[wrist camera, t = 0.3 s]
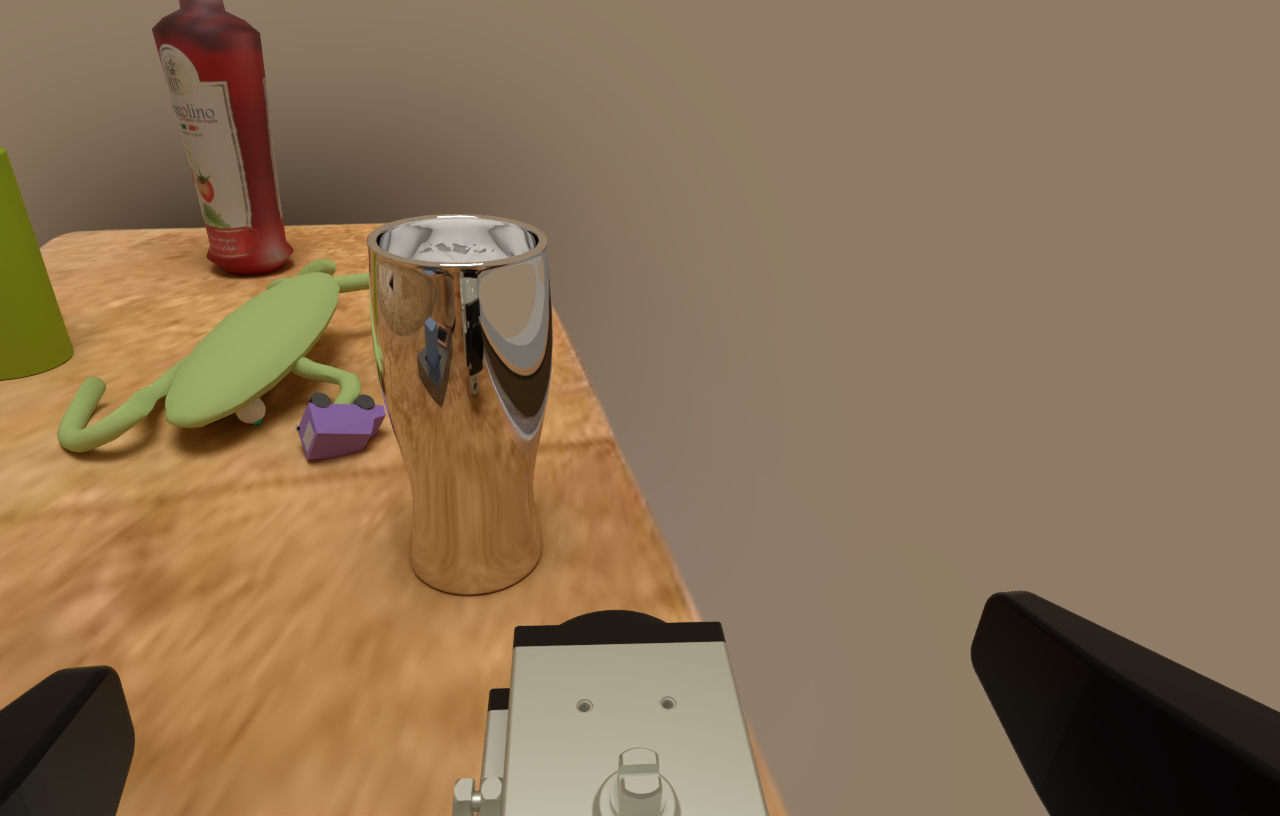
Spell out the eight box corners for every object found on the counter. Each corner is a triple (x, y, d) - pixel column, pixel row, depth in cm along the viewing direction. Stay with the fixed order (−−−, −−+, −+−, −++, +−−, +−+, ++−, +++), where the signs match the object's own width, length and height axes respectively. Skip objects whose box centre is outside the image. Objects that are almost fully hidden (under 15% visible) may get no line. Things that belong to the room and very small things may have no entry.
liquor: (187, 270, 65) (92, -122, 51) (256, 249, 71) (188, -107, 57) (250, 286, 62) (168, -121, 49) (316, 263, 68) (259, -105, 55)
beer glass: (572, 522, 37) (578, 225, 30) (516, 619, 31) (507, 277, 24) (445, 494, 39) (422, 204, 31) (368, 582, 33) (318, 249, 26)
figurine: (527, 328, 59) (526, 260, 57) (312, 524, 37) (294, 426, 34) (324, 293, 63) (315, 227, 60) (16, 451, 40) (-22, 358, 38)
